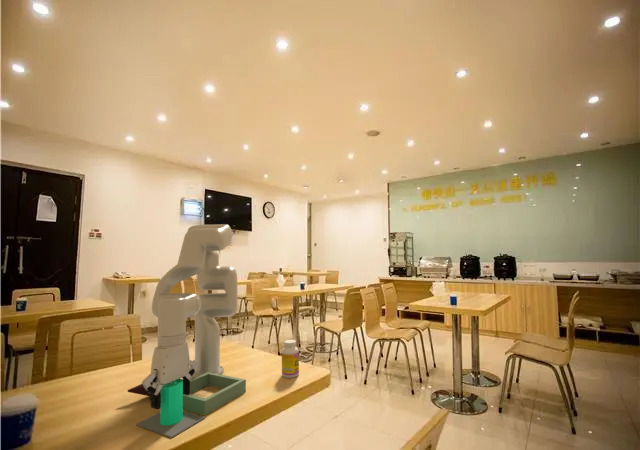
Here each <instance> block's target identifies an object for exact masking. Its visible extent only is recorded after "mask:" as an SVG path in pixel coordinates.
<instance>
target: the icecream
mask: <svg viewBox="0 0 640 450" xmlns="http://www.w3.org/2000/svg"><path fill="white" fill-rule="evenodd" d="M150 384H151V386H152V384H153V383H151V382H150ZM157 386H158V385H157ZM156 388H157V387H156ZM156 388H155V389H156ZM127 393H130V394H131V393H132V394H135V395H141V396H147V397H149V400H150V401H151V394H150V393H149V392H147V391H146V390H145V388H144V386H143V385H142V383H140V384H139V385H137V386H134V387H131V388H129V389H127ZM159 394H161V390H160V392H159Z"/></svg>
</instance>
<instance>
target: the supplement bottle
mask: <svg viewBox="0 0 640 450" xmlns="http://www.w3.org/2000/svg"><path fill="white" fill-rule="evenodd" d="M283 345H284V347H283V348H282V349H281V375H282V377H283V378H287V379H291V378H296V377H298V376H299V374H300V363H299V362H300V358H299V357H300V355H299V352H300V351H299V347H297V341H296V340H295V339H286V340H283Z"/></svg>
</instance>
